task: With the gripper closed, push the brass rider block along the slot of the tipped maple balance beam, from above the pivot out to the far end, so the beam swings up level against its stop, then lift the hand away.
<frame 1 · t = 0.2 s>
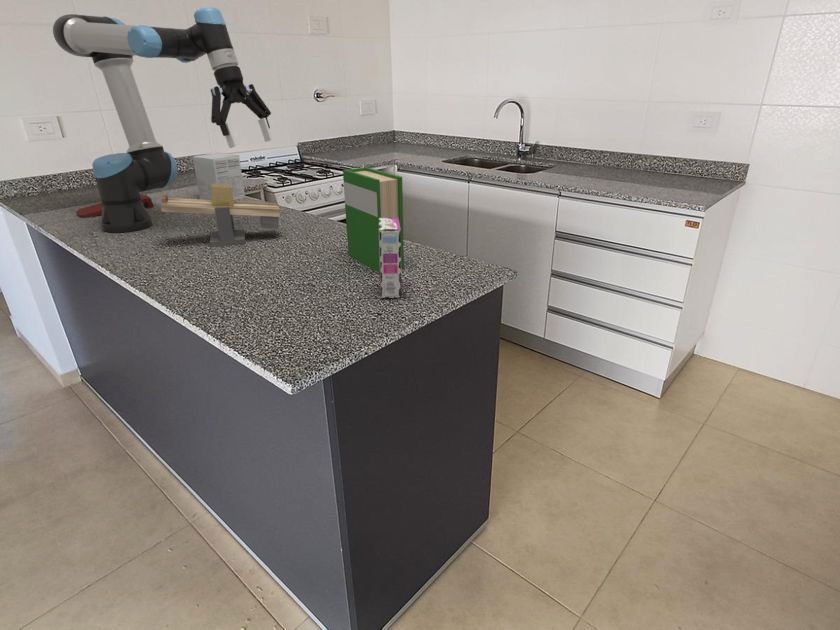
hand: (251, 143, 156), 28 cm above the table, tool tilted 15°, fingers open, 13 cm apart
beam: (223, 211, 158), point 9 cm above the table, hinge at -7.2°, touching rider
pivot stand: (228, 239, 162), on the table
hardback book: (375, 263, 143), on the table
supplement box: (223, 199, 216), on the table
rider: (222, 205, 158), point 11 cm above the table, tilted 7°, touching beam
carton: (116, 212, 199), on the table
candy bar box: (391, 290, 124), on the table
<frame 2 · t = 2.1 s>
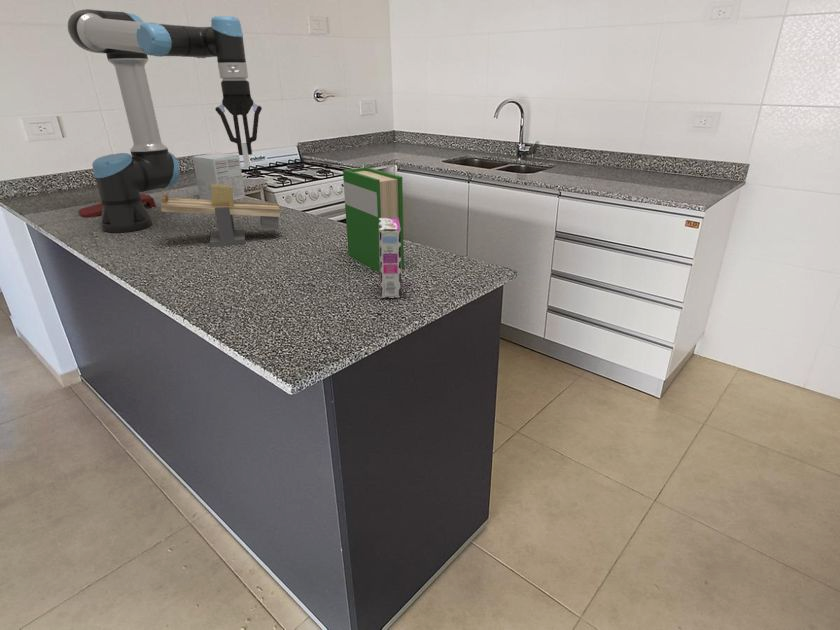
hand: (247, 166, 155), 22 cm above the table, tool pointing down, fingers closed
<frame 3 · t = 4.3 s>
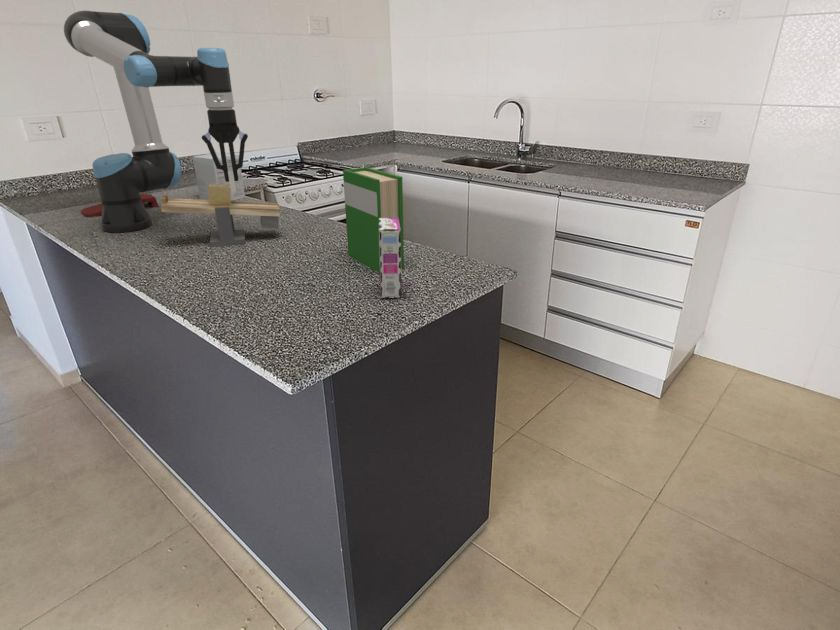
hand: (233, 192, 157), 15 cm above the table, tool pointing down, fingers closed
beam: (223, 211, 159), point 9 cm above the table, hinge at -6.8°, touching rider
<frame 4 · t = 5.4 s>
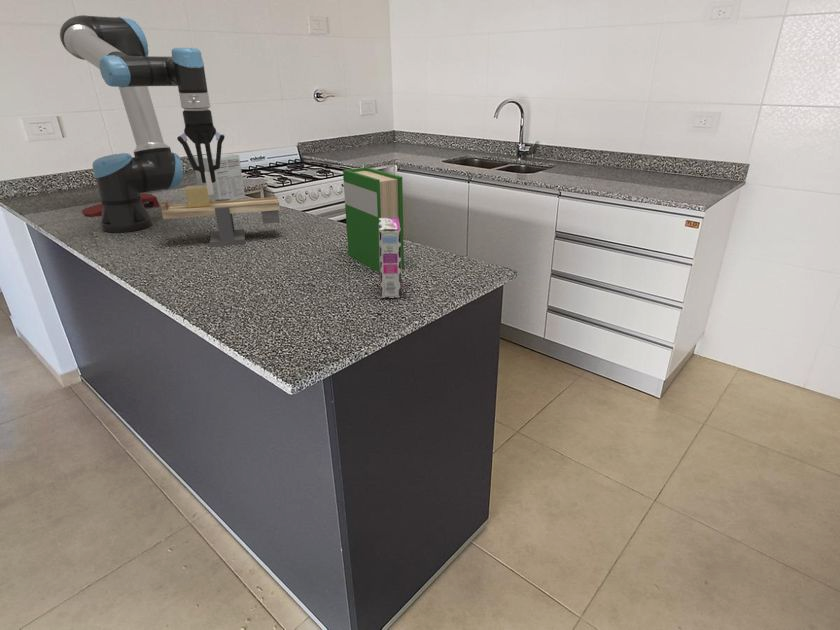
hand: (211, 193, 156), 15 cm above the table, tool pointing down, fingers closed
beam: (223, 211, 159), point 9 cm above the table, hinge at 0.2°, touching rider
rider: (200, 207, 156), point 11 cm above the table, touching beam, gripper
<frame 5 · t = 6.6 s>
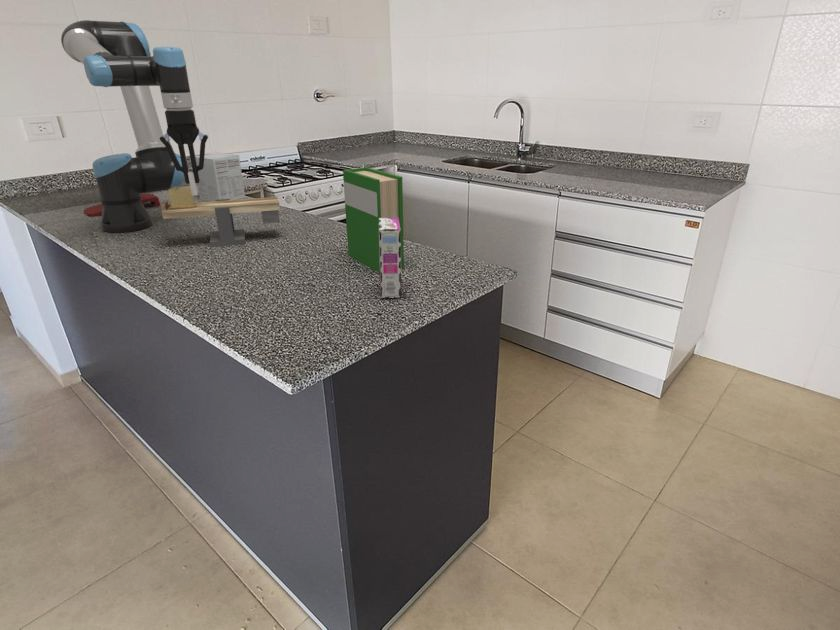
hand: (195, 194, 154), 15 cm above the table, tool pointing down, fingers closed
rider: (184, 208, 155), point 11 cm above the table, touching beam
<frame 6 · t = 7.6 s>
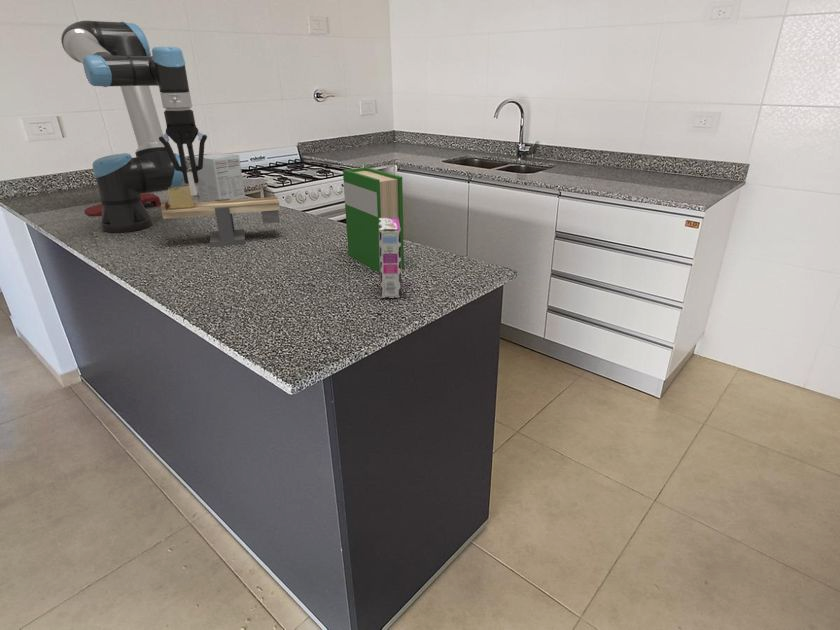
hand: (194, 194, 154), 15 cm above the table, tool pointing down, fingers closed
rider: (183, 208, 155), point 11 cm above the table, touching beam, gripper
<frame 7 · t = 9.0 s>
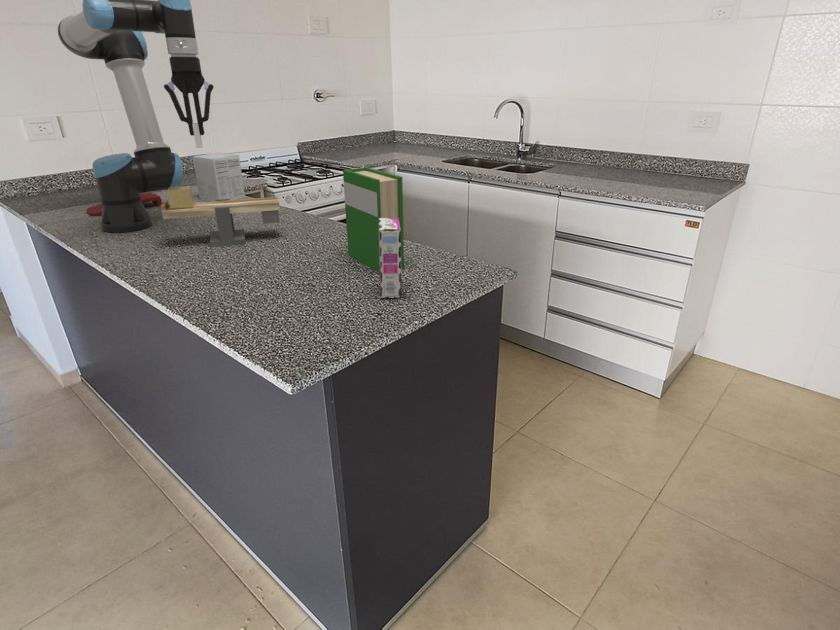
hand: (199, 147, 150), 28 cm above the table, tool pointing down, fingers closed
rider: (183, 208, 155), point 11 cm above the table, touching beam
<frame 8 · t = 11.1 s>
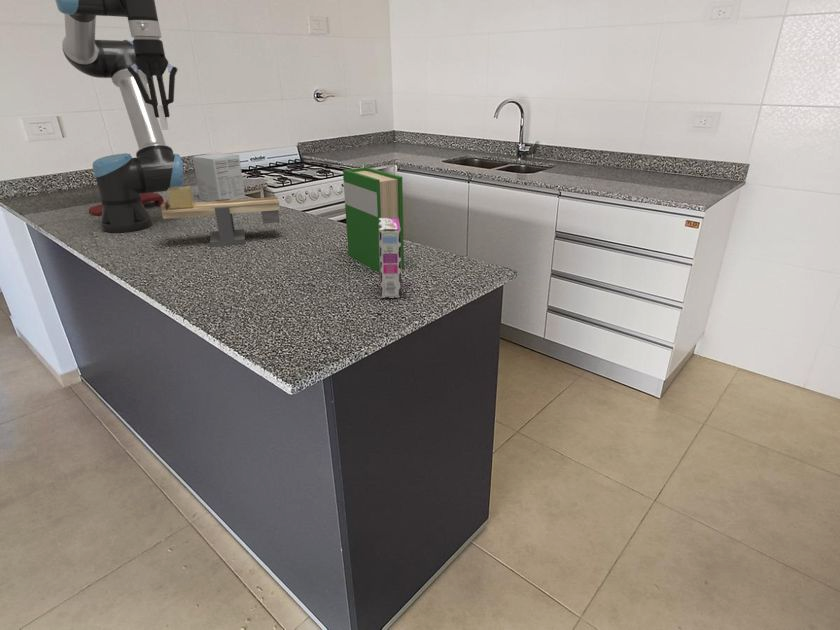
hand: (165, 129, 153), 32 cm above the table, tool pointing down, fingers closed
at the end: beam at +0° (first picture: -7°); rider inside the target area on the beam (0.3 cm from its centre), point 0.8 cm above the beam's base; rider tilted 0° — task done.
